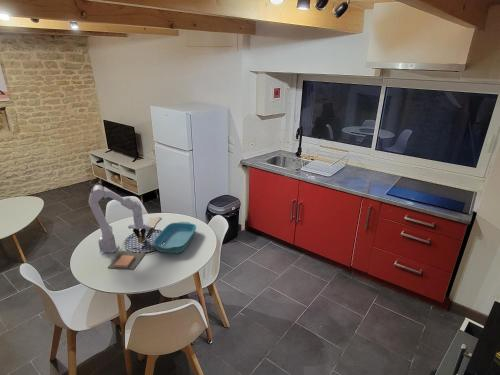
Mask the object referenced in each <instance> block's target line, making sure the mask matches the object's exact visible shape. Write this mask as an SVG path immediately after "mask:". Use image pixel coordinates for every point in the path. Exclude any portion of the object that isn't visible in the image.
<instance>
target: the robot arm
mask: <svg viewBox="0 0 500 375" xmlns="http://www.w3.org/2000/svg"><path fill="white" fill-rule="evenodd" d="M107 198H110V199H112V200H114V201H117V202H119V203H120V205H121V206H123V207H124V208H127V209H128V210H131V211H132V217H133V218H132V219H133V223H134V224H129V225H128V227H127V228H128V230H129V229H132V233H134V234H135V236H136V238H137V239H138V237H139V236H140V234H141V235H142V239H144V236H146V231H149V230H150V228H151V227H150V226H148V224H144V218H143V212H142V210H143V208H142V205H141V203H140V202H138V201H136V200H135V201H134V200H132V199H131V198H130V197H127V196H125V197H123V196H121V195H120V194H118V193H116V192H114V191H112V190H111V189H109V188H107V187H106V186H103V185H101V184H95V185H94V186H92V188H91V190H90V194H89V197H88V205H89V207H90V209H91V211H92V213H93V216H94V217H95V219H96V222H97V223H98V226H99V228H100V231H101V236H100V237H99V238H98V248H99V252H100V253H114V252H115V251H116V250H117V249H118V248H119V247H120V246H119V245H116V238H115V235H114V233H113V227H112V226H111V225H110V224H109V222H108V221H107V220H106V217H105V215H104V213H103V211H102V209H101V206H100V204H99V201H101V199H107Z"/></svg>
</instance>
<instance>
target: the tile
mask: <svg viewBox="0 0 500 375" xmlns="http://www.w3.org/2000/svg"><path fill="white" fill-rule="evenodd" d="M134 259H135V256H127V255H122V256H121V257H120V259H119V260H118V261H117V262H116V263H115V264H114V265H115V267H124V268H128V267H129V265H130V264H131V263H132V261H133V260H134Z"/></svg>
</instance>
